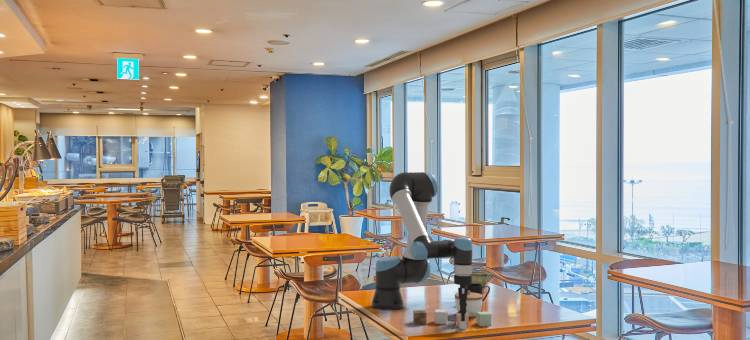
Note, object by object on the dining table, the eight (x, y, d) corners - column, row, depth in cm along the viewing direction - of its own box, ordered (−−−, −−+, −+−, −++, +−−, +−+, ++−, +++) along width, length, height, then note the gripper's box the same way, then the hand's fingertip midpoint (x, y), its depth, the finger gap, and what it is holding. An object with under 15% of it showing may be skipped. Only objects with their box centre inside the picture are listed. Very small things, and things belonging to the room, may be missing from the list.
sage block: (479, 326, 268) (479, 314, 268) (476, 323, 273) (476, 311, 273) (491, 326, 269) (491, 314, 269) (487, 323, 274) (487, 311, 274)
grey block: (434, 323, 272) (434, 311, 272) (436, 320, 277) (436, 309, 277) (446, 324, 271) (446, 312, 271) (447, 321, 276) (447, 309, 276)
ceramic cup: (468, 291, 343) (468, 273, 343) (469, 288, 353) (469, 270, 353) (492, 293, 341) (492, 274, 341) (493, 289, 350) (493, 271, 350)
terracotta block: (456, 326, 267) (456, 314, 267) (456, 323, 272) (456, 312, 272) (468, 327, 266) (468, 315, 266) (468, 324, 271) (468, 312, 271)
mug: (491, 306, 308) (492, 286, 308) (467, 306, 307) (467, 286, 307) (487, 302, 316) (487, 283, 316) (463, 302, 315) (464, 283, 315)
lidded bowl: (460, 310, 297) (461, 287, 297) (486, 314, 291) (486, 289, 291) (450, 315, 286) (450, 291, 286) (476, 319, 280) (476, 294, 280)
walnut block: (414, 324, 269) (414, 312, 269) (413, 321, 274) (413, 310, 274) (426, 324, 270) (426, 312, 270) (424, 321, 275) (425, 310, 275)
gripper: (472, 279, 256) (472, 332, 256) (471, 270, 281) (470, 318, 281) (454, 279, 257) (453, 331, 257) (453, 269, 282) (453, 318, 282)
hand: (462, 325), depth 269 cm, fingers open, 13 cm apart
